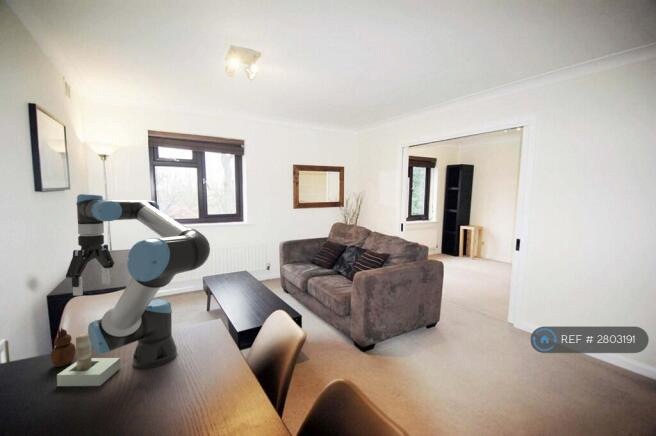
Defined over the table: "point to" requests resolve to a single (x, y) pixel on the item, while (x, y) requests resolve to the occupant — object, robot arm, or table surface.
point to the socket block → (89, 373)
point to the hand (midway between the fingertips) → (92, 289)
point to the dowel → (83, 352)
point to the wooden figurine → (62, 349)
